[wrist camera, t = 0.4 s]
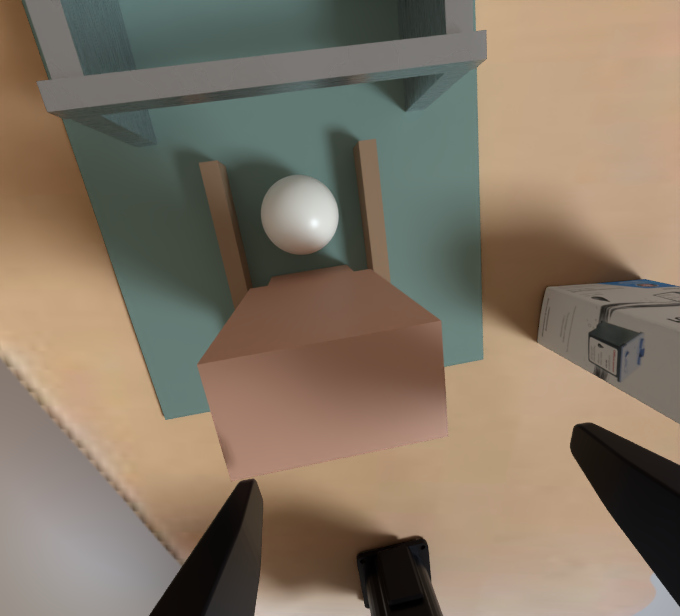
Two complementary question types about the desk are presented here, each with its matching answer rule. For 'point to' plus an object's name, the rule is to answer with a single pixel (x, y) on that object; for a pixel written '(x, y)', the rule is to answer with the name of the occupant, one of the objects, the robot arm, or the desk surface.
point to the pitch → (272, 165)
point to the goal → (236, 65)
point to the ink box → (620, 336)
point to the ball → (299, 214)
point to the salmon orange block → (323, 372)
